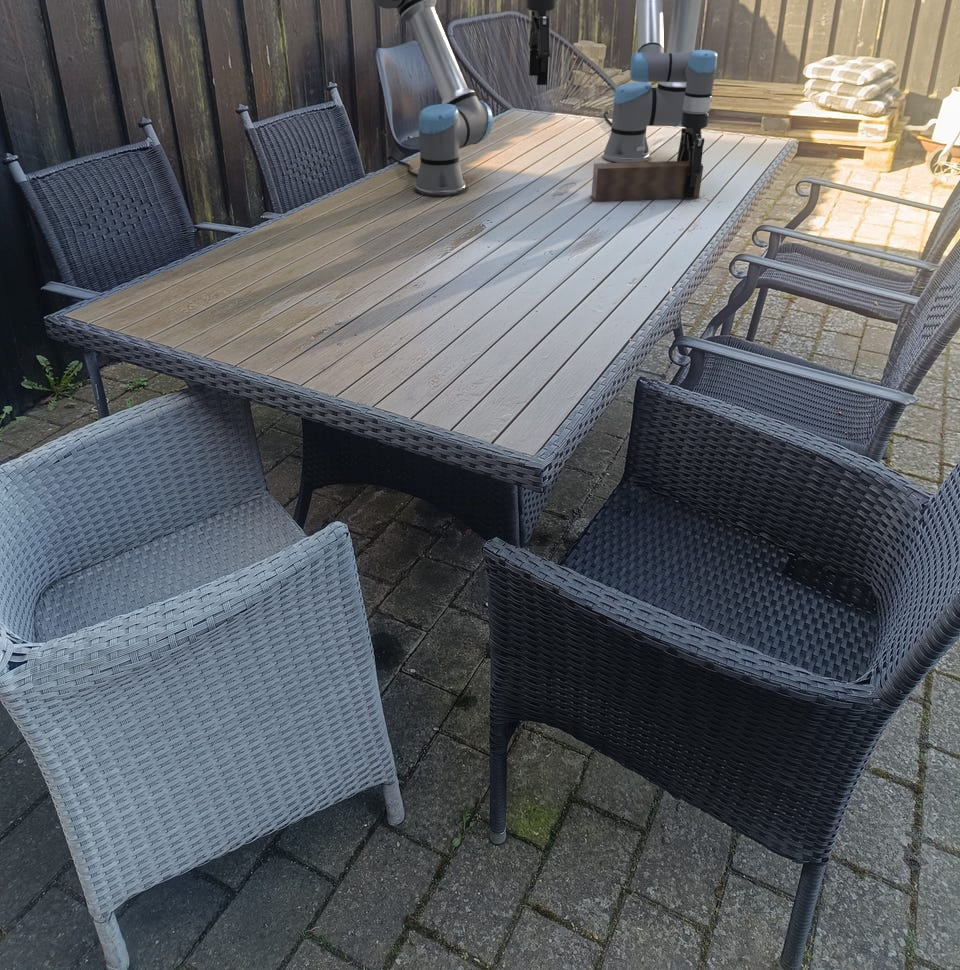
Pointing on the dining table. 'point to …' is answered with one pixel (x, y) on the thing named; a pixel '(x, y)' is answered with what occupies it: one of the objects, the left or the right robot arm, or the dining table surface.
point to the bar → (642, 181)
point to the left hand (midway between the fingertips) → (537, 80)
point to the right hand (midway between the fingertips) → (684, 192)
